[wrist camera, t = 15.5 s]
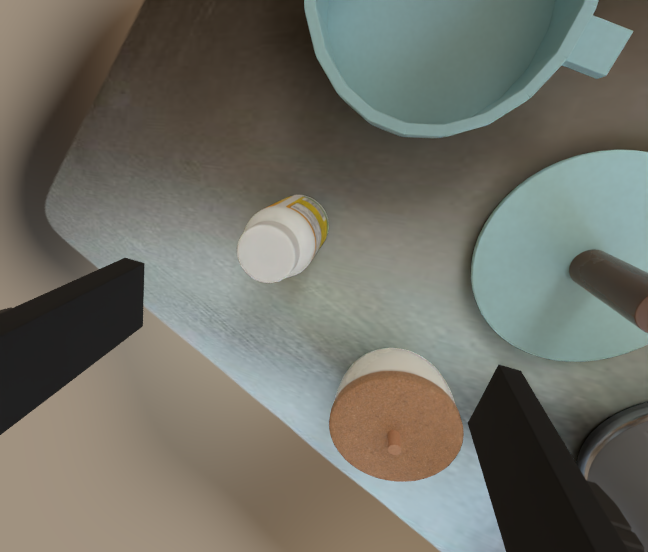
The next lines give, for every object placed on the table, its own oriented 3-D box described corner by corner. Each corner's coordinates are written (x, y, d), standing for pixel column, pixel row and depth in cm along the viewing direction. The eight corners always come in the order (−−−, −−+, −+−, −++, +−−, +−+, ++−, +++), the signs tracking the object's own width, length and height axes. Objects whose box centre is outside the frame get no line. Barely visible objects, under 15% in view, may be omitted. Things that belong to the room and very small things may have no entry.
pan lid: (611, 382, 32) (694, 469, 23) (433, 309, 32) (450, 367, 24) (773, 203, 25) (973, 232, 16) (545, 112, 25) (625, 95, 17)
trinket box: (319, 365, 36) (298, 433, 28) (401, 308, 32) (407, 367, 24) (384, 432, 38) (383, 517, 29) (470, 386, 34) (498, 467, 25)
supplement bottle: (331, 196, 30) (308, 217, 21) (328, 255, 32) (305, 297, 23) (271, 191, 31) (224, 210, 22) (271, 249, 33) (228, 288, 24)
